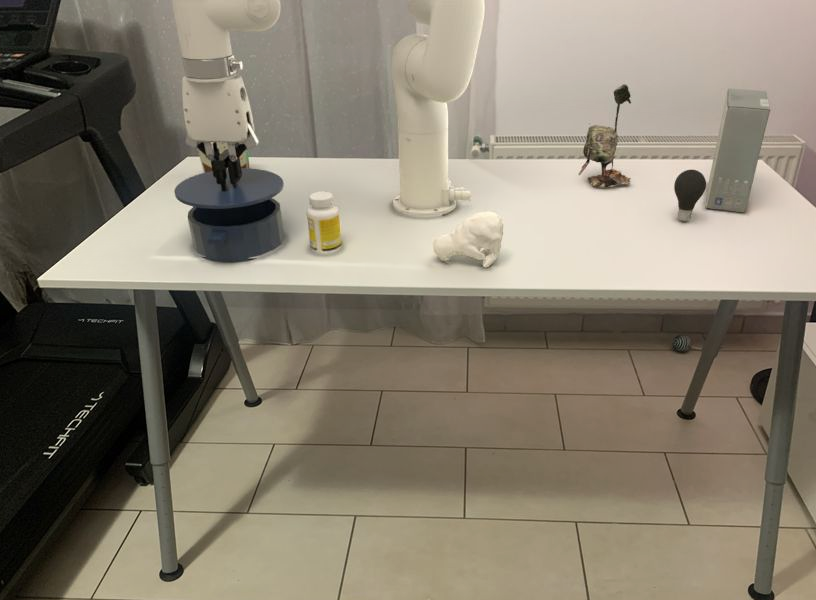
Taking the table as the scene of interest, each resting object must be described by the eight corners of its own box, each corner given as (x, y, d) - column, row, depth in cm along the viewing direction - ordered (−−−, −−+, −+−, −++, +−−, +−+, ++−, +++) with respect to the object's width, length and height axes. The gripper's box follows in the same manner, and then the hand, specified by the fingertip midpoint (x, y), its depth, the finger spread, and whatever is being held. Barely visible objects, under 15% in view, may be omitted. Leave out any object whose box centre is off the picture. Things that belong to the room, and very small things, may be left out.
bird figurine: (576, 175, 158) (585, 81, 147) (628, 177, 157) (642, 82, 146) (577, 188, 151) (587, 90, 140) (632, 190, 150) (646, 92, 139)
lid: (295, 176, 130) (291, 140, 126) (266, 214, 115) (261, 174, 111) (199, 173, 131) (192, 137, 127) (158, 210, 116) (148, 171, 112)
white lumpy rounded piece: (503, 219, 115) (428, 225, 115) (506, 267, 119) (434, 273, 120) (501, 205, 120) (430, 210, 121) (504, 251, 124) (435, 256, 125)
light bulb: (700, 218, 137) (711, 167, 132) (696, 229, 133) (706, 177, 128) (671, 214, 139) (680, 163, 134) (665, 224, 135) (674, 172, 130)
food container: (264, 172, 159) (257, 127, 154) (255, 182, 154) (248, 135, 149) (210, 170, 160) (202, 125, 155) (200, 180, 155) (190, 134, 150)
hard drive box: (746, 214, 139) (770, 109, 128) (705, 209, 141) (726, 106, 130) (745, 187, 152) (767, 89, 141) (707, 183, 154) (726, 86, 143)
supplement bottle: (347, 244, 128) (342, 192, 122) (333, 257, 123) (327, 203, 118) (319, 240, 129) (314, 188, 124) (305, 252, 125) (298, 199, 119)
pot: (298, 221, 136) (294, 189, 133) (265, 271, 119) (260, 236, 115) (218, 219, 137) (212, 187, 134) (174, 268, 120) (166, 233, 116)
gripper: (265, 63, 115) (280, 175, 125) (170, 62, 116) (192, 173, 126) (251, 74, 108) (267, 191, 118) (150, 72, 109) (175, 188, 119)
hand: (228, 181), depth 122 cm, fingers closed on lid
